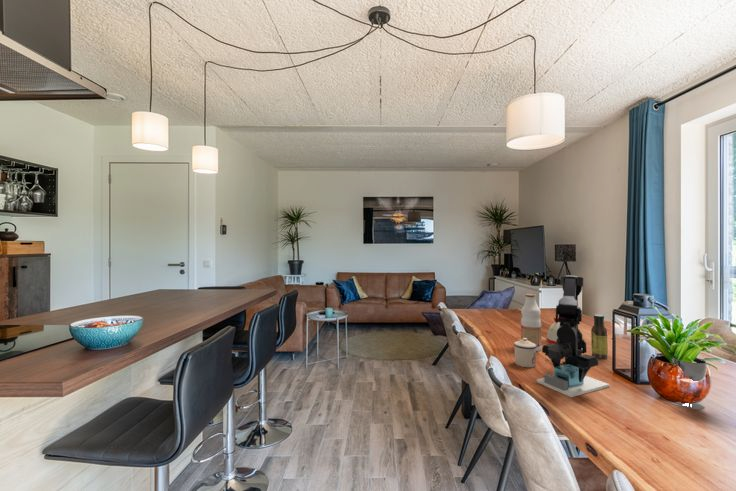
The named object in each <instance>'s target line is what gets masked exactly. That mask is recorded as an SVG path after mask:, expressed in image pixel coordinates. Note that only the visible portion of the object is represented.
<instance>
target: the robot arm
mask: <svg viewBox="0 0 736 491" xmlns="http://www.w3.org/2000/svg"><path fill="white" fill-rule="evenodd" d="M584 284H585V283H584V278H583V277H581V276H580V275H571V274H570V275H569V274H566V275H563V276H560V286H561V287H562V291H563V293H562V298H560V299H559V300H558V304H557V305H556V308H555V321H554V323H555V322H560V326H559V328H558V330H557V337H558V338H557V343H556V344H552V343H550V344H544V345H542V346H541V351H542V353H543V354H544V355H545V356H547V357H548V358H549V359H550V361H551V364H552V367H553V368H554V367H557V366H561V363H562V365H566V364H569V365H572V366H575V367H578V368H579V382H582V381H583V379H584V377H585V376H587V374H588V373H589V371H590V369H591V368H594V367H596V366H597V367H598V366H599V358H596V357H594V356H593V355H590V354H586V353H587V342H586V341H585V339H584V338H583V333H582V331H581V330H580V328H579V325H580V324H581V323H582V321H583V320H582V318H583V317H582V316H583V310H582V309H581V307H579V295H580V294H581V292H582V289H583V287H584V286H585V285H584ZM559 317H560V318H559ZM558 318H559V319H558ZM563 359H564V361H562V360H563ZM561 361H562V362H561Z"/></svg>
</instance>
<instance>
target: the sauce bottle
mask: <svg viewBox="0 0 736 491" xmlns="http://www.w3.org/2000/svg"><path fill="white" fill-rule="evenodd" d="M593 320H594V321H593V325H592V327H591V329H590V331H591V332H590V334H591V336H590V337H591V338H590V340H591V342H590V344H591V345H590V346H591V356H594V357H596V358H597V359H601V358H604V359H603V360H605V359H608V354H609V353H608V352H609V351H608V330H607V328H606V326H605V323H604V321H605V316H604V315H603V314H599V313H598V314H594V315H593Z"/></svg>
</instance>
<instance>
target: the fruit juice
mask: <svg viewBox="0 0 736 491" xmlns="http://www.w3.org/2000/svg"><path fill="white" fill-rule="evenodd" d="M536 298H537V294H534V293H526V294H525V302H524V304H523V306H522V307H521V310H520V313H521V318H520V340H523V338H527V340H528V341H530V342H532V343H534V344H535V345H536V352H540V351H542V320H541V315H542V310H541V309H540V307H539V305H538V303H537V300H536Z"/></svg>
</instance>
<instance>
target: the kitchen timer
mask: <svg viewBox="0 0 736 491" xmlns="http://www.w3.org/2000/svg"><path fill="white" fill-rule="evenodd" d="M559 318H560V317H559V316H558V319H559ZM555 319H556V317H553V320H554V322H553V323H552V324H551V325H550V327H548V332H547V334H546V341H547V342H548V343H550V344H552V343H553V344H556V343H557V338H558V337H557V330H558V328H559V326H560V322H555Z"/></svg>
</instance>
